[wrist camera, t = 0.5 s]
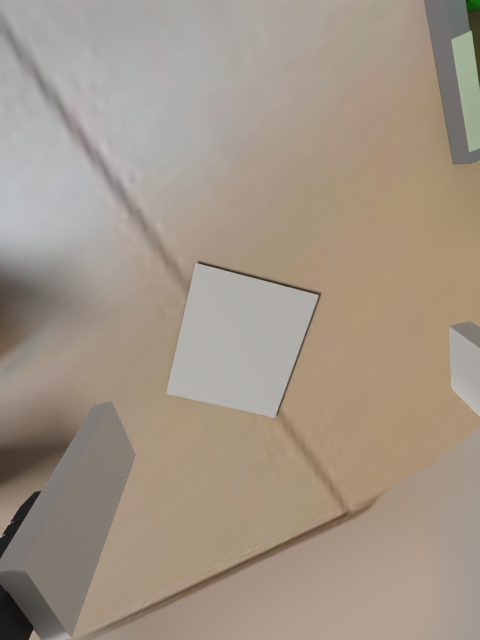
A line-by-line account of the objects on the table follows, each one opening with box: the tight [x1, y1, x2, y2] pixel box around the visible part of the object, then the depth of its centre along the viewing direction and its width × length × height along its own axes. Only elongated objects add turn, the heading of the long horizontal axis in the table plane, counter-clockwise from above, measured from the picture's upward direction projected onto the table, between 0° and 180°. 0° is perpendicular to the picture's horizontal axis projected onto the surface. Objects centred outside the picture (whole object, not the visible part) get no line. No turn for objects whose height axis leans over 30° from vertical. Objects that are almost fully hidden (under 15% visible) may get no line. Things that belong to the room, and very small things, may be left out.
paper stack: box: [166, 263, 319, 418], centre depth 45 cm, size 23×25×1 cm
